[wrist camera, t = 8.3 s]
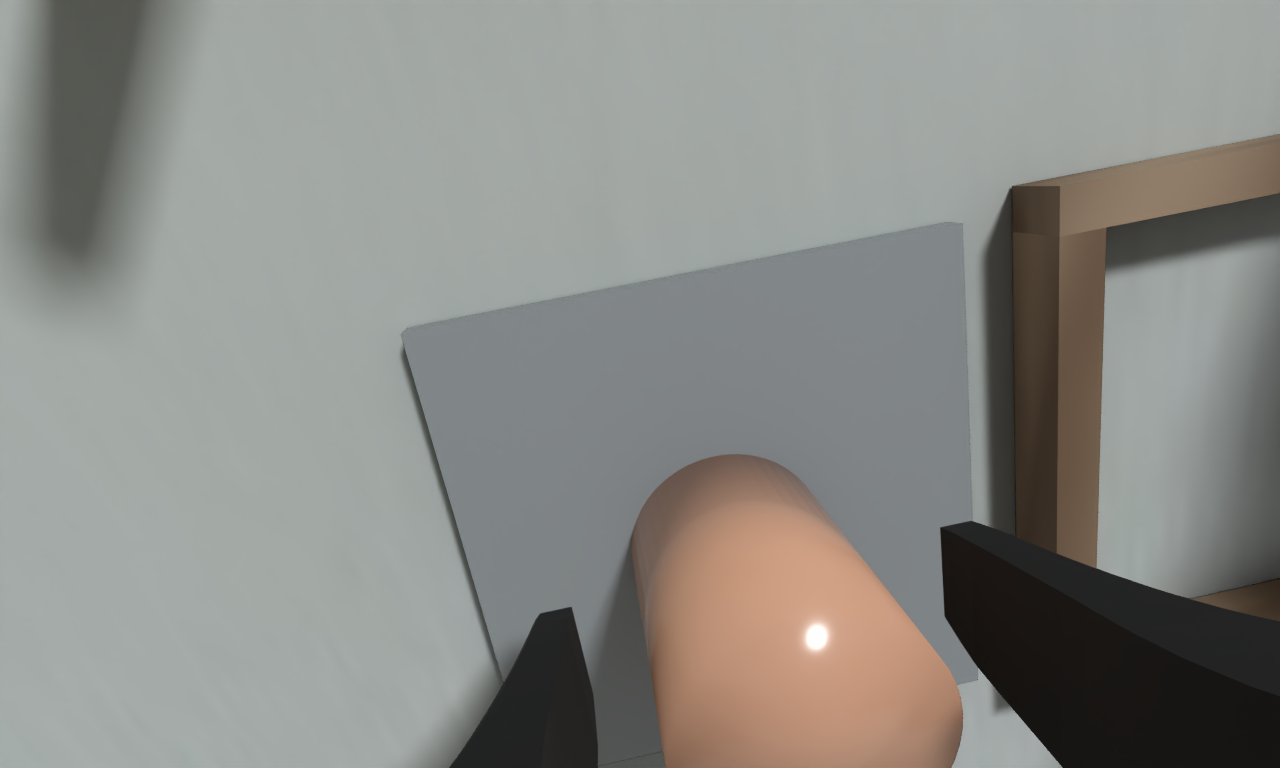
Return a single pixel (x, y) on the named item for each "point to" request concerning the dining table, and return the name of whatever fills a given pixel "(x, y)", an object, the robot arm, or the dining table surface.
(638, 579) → the peach rounded block
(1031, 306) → the frame
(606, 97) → the dining table surface
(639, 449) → the grey mat
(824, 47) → the dining table surface
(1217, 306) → the dining table surface
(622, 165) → the dining table surface
